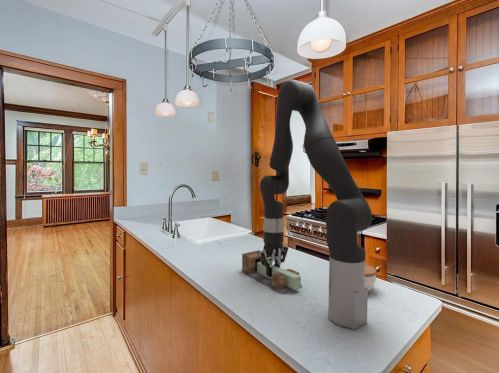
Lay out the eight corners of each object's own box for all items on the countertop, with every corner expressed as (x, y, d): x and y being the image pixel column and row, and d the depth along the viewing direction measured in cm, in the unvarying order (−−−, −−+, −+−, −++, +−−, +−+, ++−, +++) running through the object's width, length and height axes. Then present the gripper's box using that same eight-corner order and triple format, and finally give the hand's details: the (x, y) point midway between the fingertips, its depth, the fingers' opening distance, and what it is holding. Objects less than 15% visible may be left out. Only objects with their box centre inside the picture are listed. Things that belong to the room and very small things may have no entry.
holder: (301, 287, 93) (302, 266, 93) (283, 294, 88) (283, 272, 87) (259, 267, 112) (259, 250, 112) (241, 272, 107) (241, 254, 107)
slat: (300, 287, 90) (300, 276, 89) (294, 289, 88) (294, 278, 88) (263, 271, 106) (262, 261, 105) (257, 272, 104) (257, 262, 104)
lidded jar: (351, 280, 99) (352, 256, 99) (381, 290, 91) (382, 263, 90) (336, 288, 92) (336, 262, 92) (366, 300, 84) (367, 271, 84)
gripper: (265, 234, 90) (265, 283, 91) (294, 229, 99) (293, 274, 100) (252, 230, 96) (251, 276, 97) (280, 225, 105) (279, 268, 106)
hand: (273, 275), depth 99 cm, fingers closed on slat, 3 cm apart
